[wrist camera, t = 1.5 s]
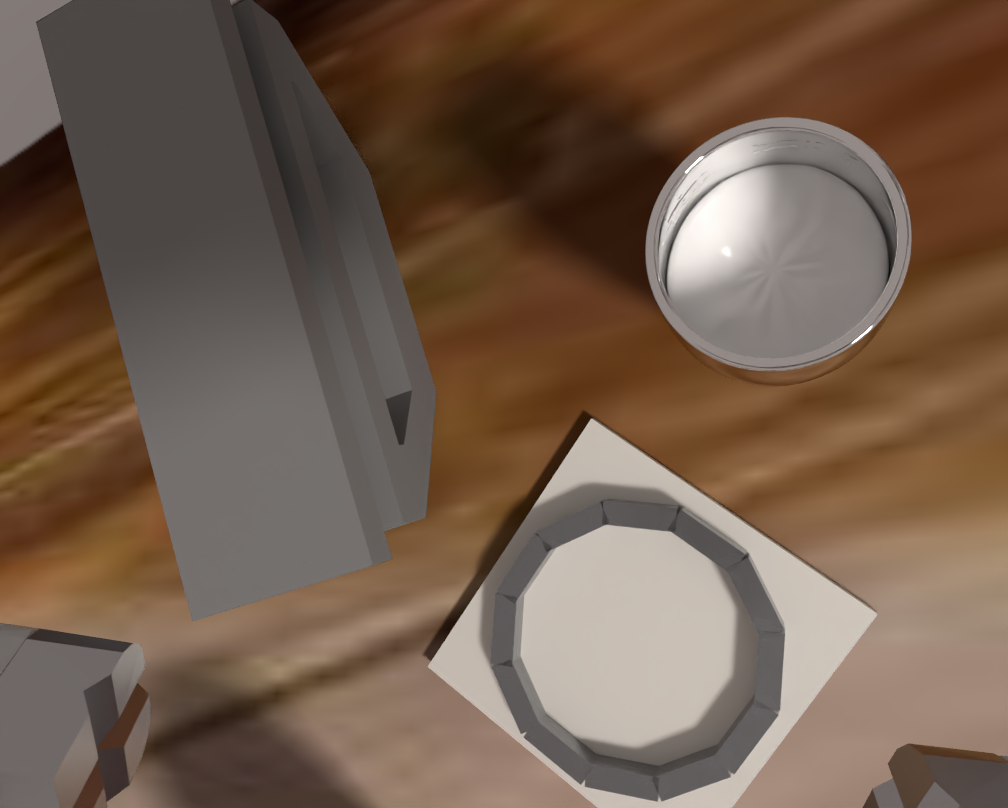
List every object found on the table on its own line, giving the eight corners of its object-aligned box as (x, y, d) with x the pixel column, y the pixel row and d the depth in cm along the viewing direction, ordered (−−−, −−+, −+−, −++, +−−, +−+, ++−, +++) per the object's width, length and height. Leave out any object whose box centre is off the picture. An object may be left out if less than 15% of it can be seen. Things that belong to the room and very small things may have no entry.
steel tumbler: (673, 373, 37) (607, 344, 23) (715, 217, 37) (674, 89, 23) (838, 414, 35) (878, 410, 21) (884, 250, 35) (957, 130, 21)
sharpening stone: (206, 113, 45) (36, 22, 35) (331, 48, 43) (190, -70, 33) (336, 572, 42) (192, 621, 32) (477, 528, 40) (373, 565, 30)
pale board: (594, 418, 38) (591, 418, 38) (876, 610, 35) (877, 613, 34) (432, 663, 41) (427, 666, 40) (681, 869, 37) (680, 876, 36)
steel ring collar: (596, 446, 38) (591, 447, 37) (844, 617, 34) (846, 624, 33) (452, 663, 40) (442, 670, 38) (674, 845, 36) (670, 859, 35)
